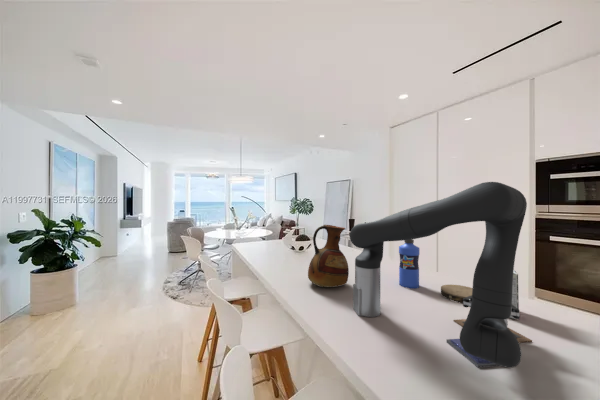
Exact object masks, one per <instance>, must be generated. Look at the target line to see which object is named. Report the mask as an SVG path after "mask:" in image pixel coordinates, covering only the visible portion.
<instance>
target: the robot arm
mask: <svg viewBox="0 0 600 400" xmlns="http://www.w3.org/2000/svg"><path fill="white" fill-rule="evenodd" d="M527 206H528V203H527V198H526V197H525V195H524V194H523V193H522V192H521V191H520V190H518V189H517V188H514V187H512V186H510V185H507V184H504V183H501V182H498V181H487V182H482V183H479V184H476V185H473V186H470V187H469V188H465V189H464V190H461V191H459V192H457V193H455V194H452V195H450V196H448V197H444V198H442V199H439V200H435V201H431V202H427V203H424V204H421V205H417V206H413V207H411V208H407V209H405V210H404V209H403V210H401V211H398V212H396V213H395V212H394V213H393V214H391V215H390V214H389V215H388V216H385V217H383V218H380V219H377V220H375V221H369V222H364V223H357V224H356V225H354V226H353V227H352V228H351V230H350V233H349V239H350V242H351V243H352V244H353V246H354V247H356V248H358V249H362V251H361V253H360V254H358V255H357V256H356V257H355V258H354V259H355V260H354V283H353V284H352V286H353V287H352V292H353V293H352V295H353V297H352V301H353V302H352V303H353V304H352V308H353V311H354V312H355V313H356V314H357V316H362V317H366V318H376V317H379V316H380V315H381V309H382V308H381V266H382V265H381V262H382V261H383V259H384V258H383V257H384V245H385V242H398V241H400V242H401V241H404V240H411V239H412V240H416V239H422V238H426V237H431V236H433V235H435V234H437V233H439V232H441V231H442V230H444V229H446V228H448V227H452V226H455V225H460V224H467V223H476V222H484V223H485V238H484V239H485V240H484V245H483V249H482V251H481V254H480V256H479V258H478V261H477V262H476V263H477V264H476V266H475V270H474V273H473V280H472V288H473V289H472V295H471V296H468V297H465V298H463V303H462V304H463V305H462V306H463V308H469V311H468V314H467V316H466V318H465V319H466V321H465V323H464V325H463V327H462V328H461V330H460V333H459V339H460V343H461V345H462V347H463V349H464V350H465V351H466V352H467V353H469V354H471V355H473V356H476V357H479V358H482V359H484V360H487V361H490V362H492V363H496V364H498V365H501V366H500V367H503V368H514V367H516V366H517V365H518V364H519V363H520V362H521V360H522V349H521V345H520V343H518V340H517V338H516V337H515V335H514V334H513V333H512V332H511V331H510V330H509V329H508V328H509V323H508V319H510V318H509V317H510V316H513V317H514V318H516V319H519V320H520V308H519V309H517V308H516V307H515V306H513V305H512V286H513V270H515V260H516V259H515V258H516V253H517V249H518V243H519V240H520V234H521V230H522V227H523V225H524V224H523V223H524V220H525V216H526V212H527ZM516 319H515V320H516ZM507 327H508V328H507Z"/></svg>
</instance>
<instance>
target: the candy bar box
mask: <svg viewBox="0 0 600 400" xmlns="http://www.w3.org/2000/svg"><path fill="white" fill-rule="evenodd" d="M519 301H520V300H519V273H517V272H516V270H515V269H514V270H513V286H512V305H513V306H515V307H516V308H517V309H519V310H520V308H519V307H520V306H519V303H520V302H519ZM508 319H511V320H517V321H519V320H520V319H516V318H514V317H513V316H510V317H509V318H508Z"/></svg>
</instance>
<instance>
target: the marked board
mask: <svg viewBox="0 0 600 400" xmlns="http://www.w3.org/2000/svg"><path fill="white" fill-rule="evenodd" d="M466 319H467V318H462V319H453V322H454V323H455V324H457V325H458V326H460V327H463V325H464V323H465V321H466ZM507 328H508V329H509V330H510V331H511V332H512V333H513V334H514V335H515V337H516V338H517V340H518V343H519V344H521V343H533V340H532V339H531V338H529V337H526V336H525V335H523V334H521V333H520V332H517V331H515V330H514V329H511V328H510V327H509V326H508V327H507Z"/></svg>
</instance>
